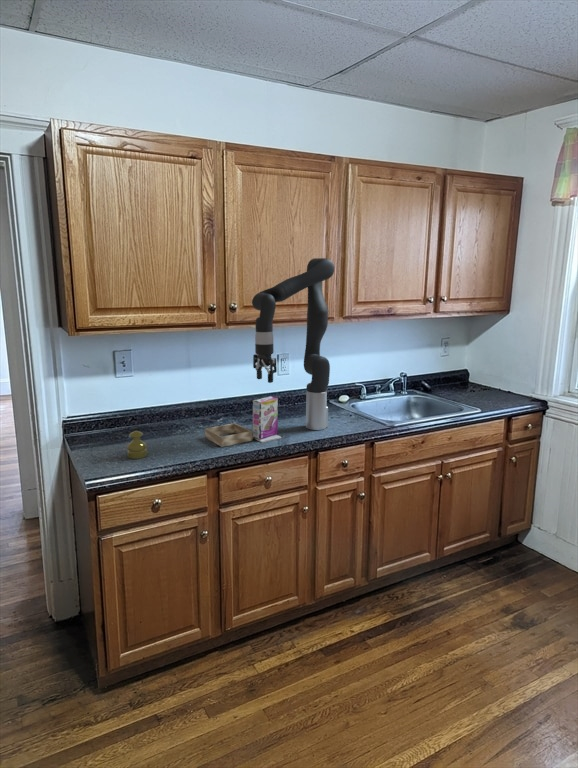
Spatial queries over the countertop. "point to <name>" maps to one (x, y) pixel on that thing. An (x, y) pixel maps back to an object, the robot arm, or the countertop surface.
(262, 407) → the candy bar box
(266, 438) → the mat
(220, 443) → the wooden square frame
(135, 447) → the brass calibration weight
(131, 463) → the countertop surface
